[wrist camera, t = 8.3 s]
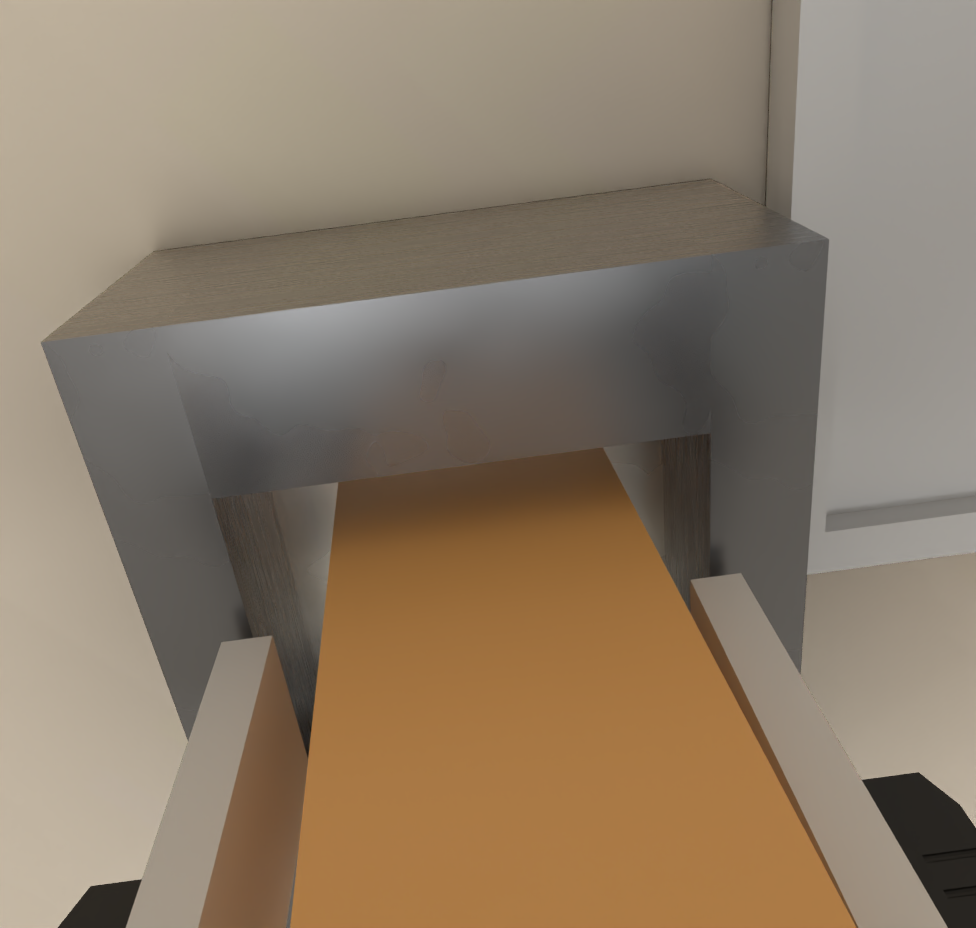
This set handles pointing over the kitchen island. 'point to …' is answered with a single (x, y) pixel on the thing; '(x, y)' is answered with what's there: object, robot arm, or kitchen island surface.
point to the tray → (885, 265)
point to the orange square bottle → (531, 723)
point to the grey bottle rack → (446, 397)
